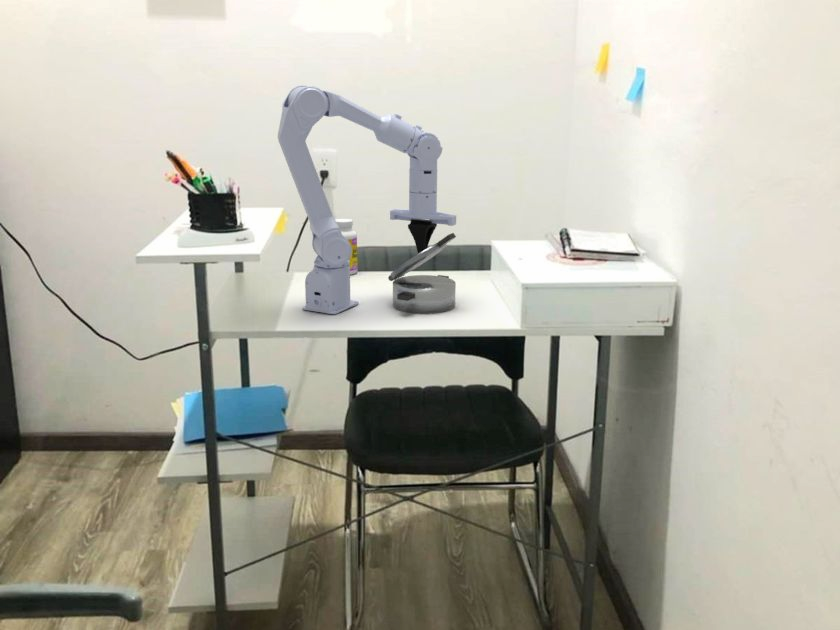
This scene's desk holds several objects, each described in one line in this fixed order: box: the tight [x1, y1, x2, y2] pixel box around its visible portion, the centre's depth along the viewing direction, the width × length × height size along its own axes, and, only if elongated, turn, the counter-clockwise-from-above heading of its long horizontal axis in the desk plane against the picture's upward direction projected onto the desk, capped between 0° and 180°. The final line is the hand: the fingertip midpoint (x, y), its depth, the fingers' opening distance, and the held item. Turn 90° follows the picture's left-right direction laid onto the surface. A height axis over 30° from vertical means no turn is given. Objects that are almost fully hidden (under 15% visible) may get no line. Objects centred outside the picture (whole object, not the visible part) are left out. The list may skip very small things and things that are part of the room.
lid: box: [387, 232, 457, 282], centre depth 167 cm, size 13×17×1 cm
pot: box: [392, 274, 456, 315], centre depth 169 cm, size 19×13×5 cm
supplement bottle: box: [334, 218, 358, 276], centre depth 194 cm, size 7×7×13 cm
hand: (422, 256), depth 171 cm, fingers closed, pressing on lid
